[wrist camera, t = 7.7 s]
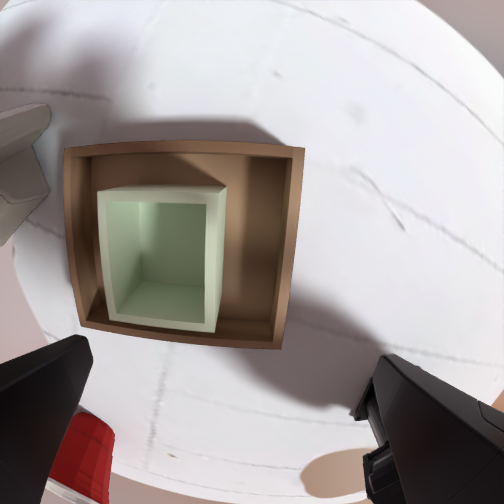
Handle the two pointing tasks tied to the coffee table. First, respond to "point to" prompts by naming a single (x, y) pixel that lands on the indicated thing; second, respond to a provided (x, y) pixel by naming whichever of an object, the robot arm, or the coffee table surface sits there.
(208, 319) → the small crate
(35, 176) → the digital clock
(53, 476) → the plastic cup
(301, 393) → the coffee table surface
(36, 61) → the coffee table surface
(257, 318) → the big crate
